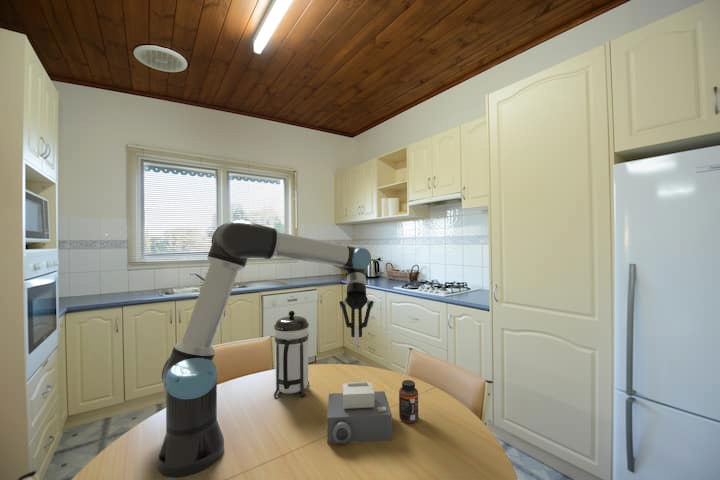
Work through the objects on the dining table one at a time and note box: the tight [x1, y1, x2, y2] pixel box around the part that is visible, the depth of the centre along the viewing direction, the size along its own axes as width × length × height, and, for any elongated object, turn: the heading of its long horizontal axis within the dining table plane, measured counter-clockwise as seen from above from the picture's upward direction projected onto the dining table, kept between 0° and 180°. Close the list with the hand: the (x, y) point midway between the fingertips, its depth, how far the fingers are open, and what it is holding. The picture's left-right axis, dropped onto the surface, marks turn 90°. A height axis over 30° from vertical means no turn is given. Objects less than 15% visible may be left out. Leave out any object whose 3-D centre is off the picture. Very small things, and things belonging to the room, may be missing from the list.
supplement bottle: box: [398, 379, 419, 424], centre depth 97 cm, size 6×6×11 cm
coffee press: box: [273, 310, 310, 399], centre depth 116 cm, size 17×16×30 cm
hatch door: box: [342, 381, 375, 409], centre depth 93 cm, size 9×7×5 cm
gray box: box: [326, 390, 393, 444], centre depth 92 cm, size 18×16×8 cm
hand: (356, 345), depth 106 cm, fingers closed
